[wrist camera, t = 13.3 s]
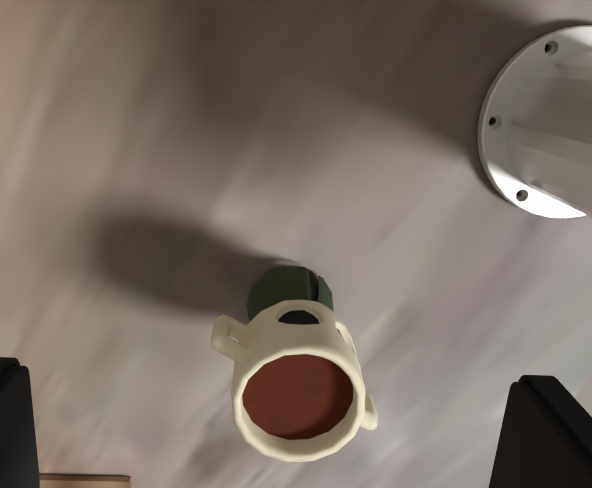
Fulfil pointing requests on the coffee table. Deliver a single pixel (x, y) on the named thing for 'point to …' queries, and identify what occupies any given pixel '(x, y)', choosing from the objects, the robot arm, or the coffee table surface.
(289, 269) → the character mug
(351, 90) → the coffee table surface
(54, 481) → the tan piece
